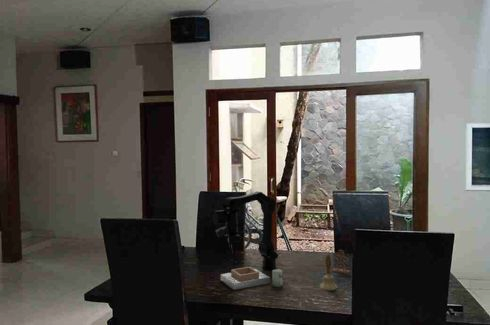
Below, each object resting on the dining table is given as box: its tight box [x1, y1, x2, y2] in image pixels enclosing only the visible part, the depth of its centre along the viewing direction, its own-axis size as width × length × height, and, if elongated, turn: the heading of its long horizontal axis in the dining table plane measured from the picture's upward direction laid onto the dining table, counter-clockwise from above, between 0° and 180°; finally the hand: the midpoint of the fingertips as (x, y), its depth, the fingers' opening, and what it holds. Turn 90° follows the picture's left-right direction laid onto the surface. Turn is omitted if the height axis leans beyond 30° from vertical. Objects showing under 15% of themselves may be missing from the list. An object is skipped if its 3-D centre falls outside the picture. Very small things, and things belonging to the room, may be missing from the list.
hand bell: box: [319, 254, 338, 291], centre depth 196 cm, size 8×8×16 cm
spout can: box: [271, 268, 284, 288], centre depth 200 cm, size 5×7×7 cm
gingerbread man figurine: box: [331, 249, 351, 275], centre depth 220 cm, size 9×4×12 cm, turn 60°
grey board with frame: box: [220, 266, 271, 291], centre depth 206 cm, size 20×16×6 cm
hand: (232, 251), depth 212 cm, fingers open, 9 cm apart
